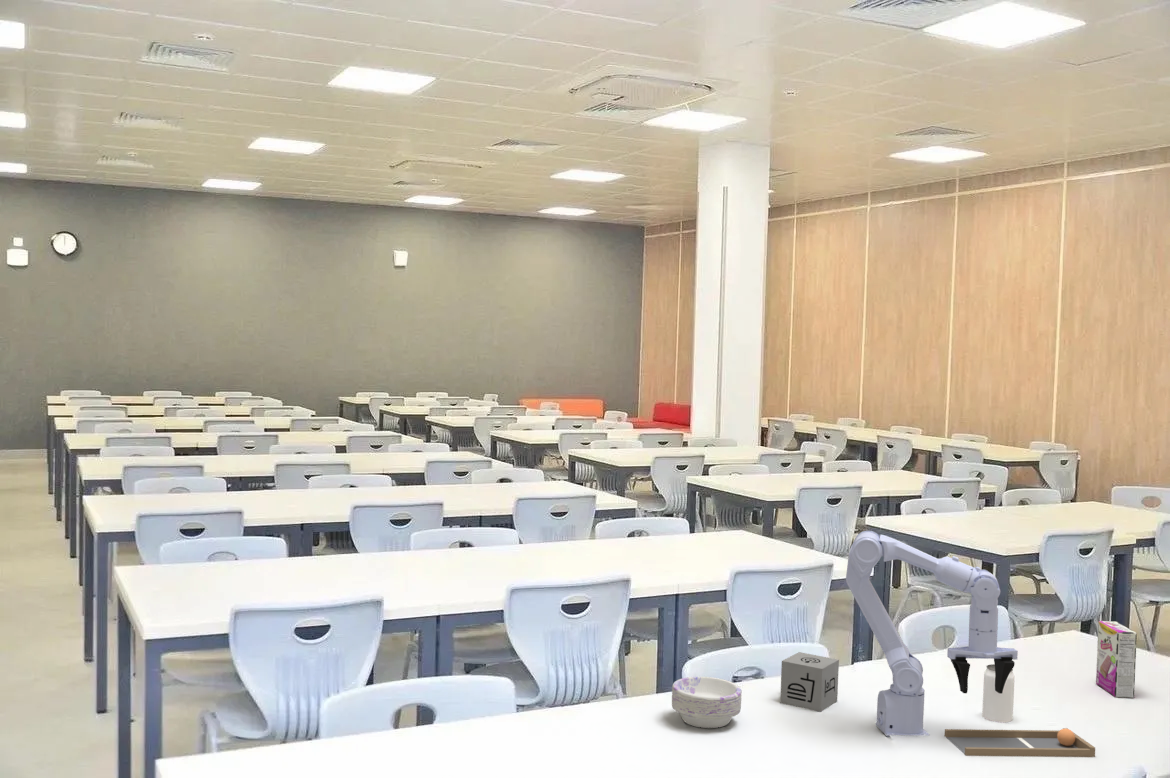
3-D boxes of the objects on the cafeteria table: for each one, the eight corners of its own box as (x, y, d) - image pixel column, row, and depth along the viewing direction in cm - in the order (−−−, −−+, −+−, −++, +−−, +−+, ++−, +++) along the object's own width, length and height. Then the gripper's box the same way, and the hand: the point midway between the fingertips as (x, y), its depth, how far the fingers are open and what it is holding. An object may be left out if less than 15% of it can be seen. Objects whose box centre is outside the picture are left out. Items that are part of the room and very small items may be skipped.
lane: (966, 758, 225) (966, 746, 225) (944, 738, 237) (944, 726, 237) (1094, 759, 227) (1095, 747, 227) (1066, 739, 238) (1067, 728, 238)
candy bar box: (1094, 684, 281) (1097, 620, 280) (1114, 685, 281) (1117, 621, 280) (1114, 698, 270) (1117, 631, 269) (1135, 698, 270) (1138, 632, 269)
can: (993, 726, 246) (996, 672, 245) (976, 716, 252) (978, 664, 252) (1018, 724, 248) (1021, 671, 247) (1000, 714, 254) (1002, 663, 253)
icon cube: (820, 712, 252) (822, 668, 252) (780, 703, 258) (781, 660, 257) (837, 701, 260) (838, 659, 260) (797, 693, 266) (799, 652, 266)
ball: (1077, 729, 231) (1079, 746, 231) (1068, 725, 235) (1070, 742, 235) (1061, 732, 231) (1064, 749, 231) (1053, 727, 234) (1055, 744, 234)
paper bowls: (738, 736, 234) (739, 699, 234) (666, 729, 237) (668, 692, 237) (742, 714, 249) (743, 679, 249) (675, 707, 252) (676, 673, 252)
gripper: (957, 633, 231) (955, 697, 231) (1024, 633, 232) (1022, 697, 232) (944, 625, 238) (942, 687, 238) (1010, 625, 239) (1008, 687, 239)
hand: (981, 692), depth 236 cm, fingers open, 7 cm apart
